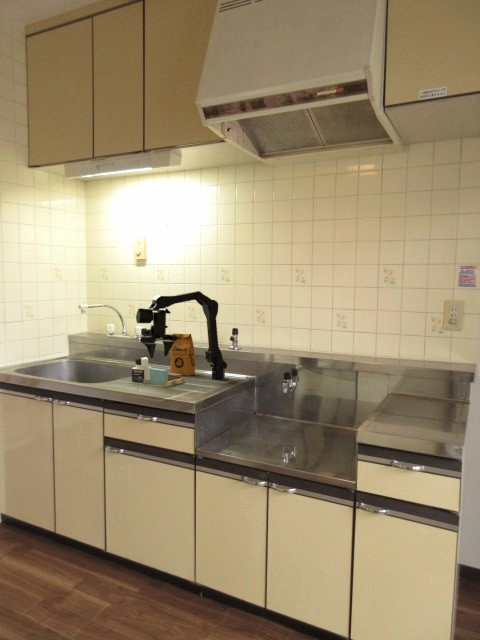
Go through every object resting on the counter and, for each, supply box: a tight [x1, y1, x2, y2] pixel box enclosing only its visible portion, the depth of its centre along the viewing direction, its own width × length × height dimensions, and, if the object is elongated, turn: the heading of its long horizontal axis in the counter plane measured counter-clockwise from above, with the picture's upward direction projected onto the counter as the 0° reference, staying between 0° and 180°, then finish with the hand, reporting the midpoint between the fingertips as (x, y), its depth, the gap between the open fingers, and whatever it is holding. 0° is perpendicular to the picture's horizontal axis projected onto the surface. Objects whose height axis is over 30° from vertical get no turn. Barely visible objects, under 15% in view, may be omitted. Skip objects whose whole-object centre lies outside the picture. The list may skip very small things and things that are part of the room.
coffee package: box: [169, 332, 196, 377], centre depth 239 cm, size 10×12×22 cm
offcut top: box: [168, 372, 182, 379], centre depth 220 cm, size 4×8×2 cm, turn 60°
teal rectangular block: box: [150, 367, 169, 386], centre depth 213 cm, size 2×9×7 cm, turn 56°
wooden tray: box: [143, 377, 186, 388], centre depth 217 cm, size 14×13×3 cm
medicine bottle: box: [131, 356, 153, 383], centre depth 223 cm, size 7×7×12 cm
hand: (158, 357), depth 212 cm, fingers open, 9 cm apart
